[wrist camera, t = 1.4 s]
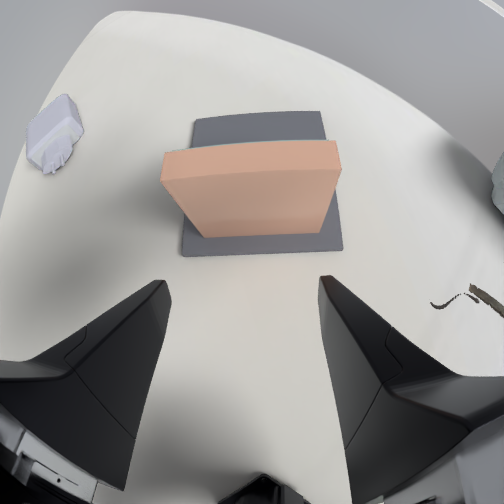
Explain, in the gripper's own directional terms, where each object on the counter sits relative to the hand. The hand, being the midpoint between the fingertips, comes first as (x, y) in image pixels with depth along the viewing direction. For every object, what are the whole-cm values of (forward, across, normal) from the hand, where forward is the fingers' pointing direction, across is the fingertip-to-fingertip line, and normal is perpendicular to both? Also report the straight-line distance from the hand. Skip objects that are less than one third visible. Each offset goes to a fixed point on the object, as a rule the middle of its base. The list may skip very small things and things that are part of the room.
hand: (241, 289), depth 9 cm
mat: (+19, 0, 0) cm, 19 cm away
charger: (+26, +29, -6) cm, 40 cm away
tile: (+15, 0, +4) cm, 15 cm away
